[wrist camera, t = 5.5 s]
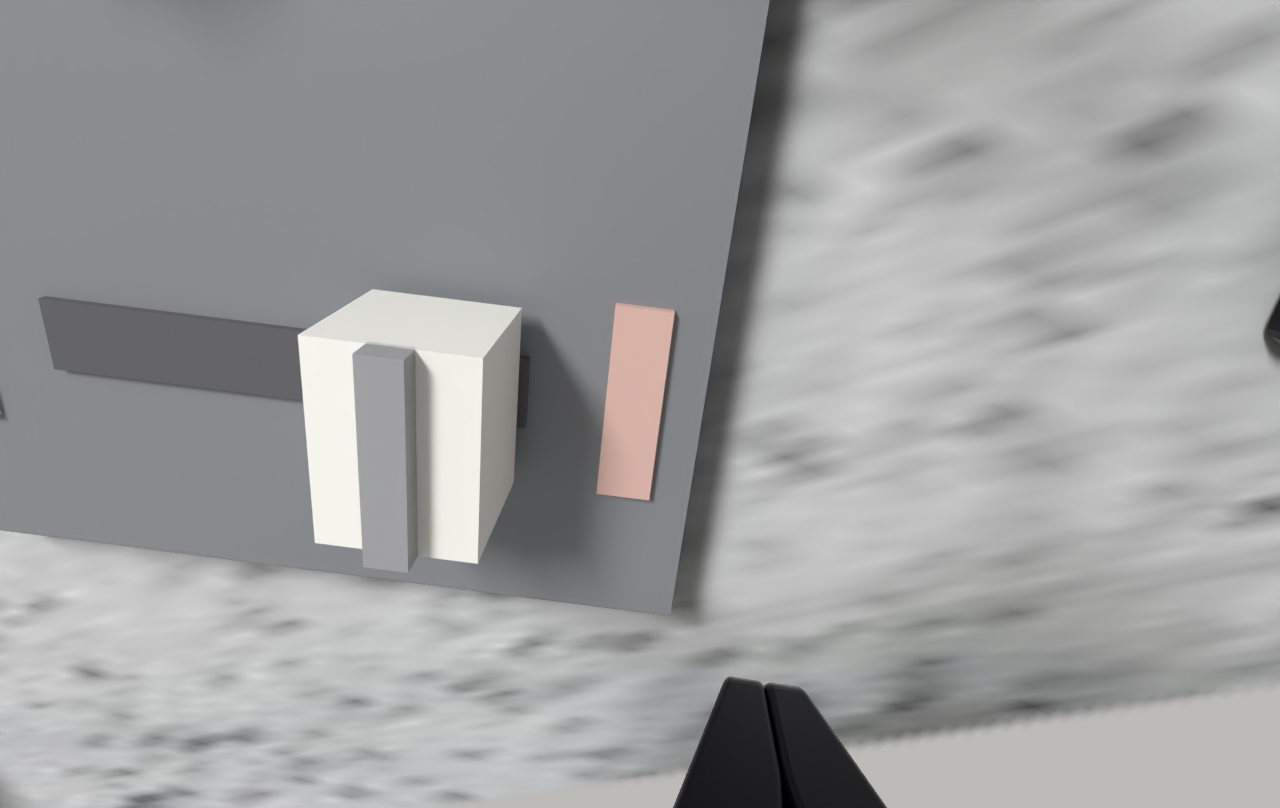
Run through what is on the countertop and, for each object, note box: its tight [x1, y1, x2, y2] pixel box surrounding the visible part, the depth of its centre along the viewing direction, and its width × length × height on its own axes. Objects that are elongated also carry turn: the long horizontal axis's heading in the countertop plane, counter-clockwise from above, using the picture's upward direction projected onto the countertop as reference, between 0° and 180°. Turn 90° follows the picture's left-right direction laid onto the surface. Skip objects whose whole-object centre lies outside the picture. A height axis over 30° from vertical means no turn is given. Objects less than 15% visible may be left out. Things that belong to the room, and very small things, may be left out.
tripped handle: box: [298, 289, 522, 573], centre depth 13 cm, size 3×4×4 cm
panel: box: [0, 0, 770, 616], centre depth 14 cm, size 18×23×2 cm
